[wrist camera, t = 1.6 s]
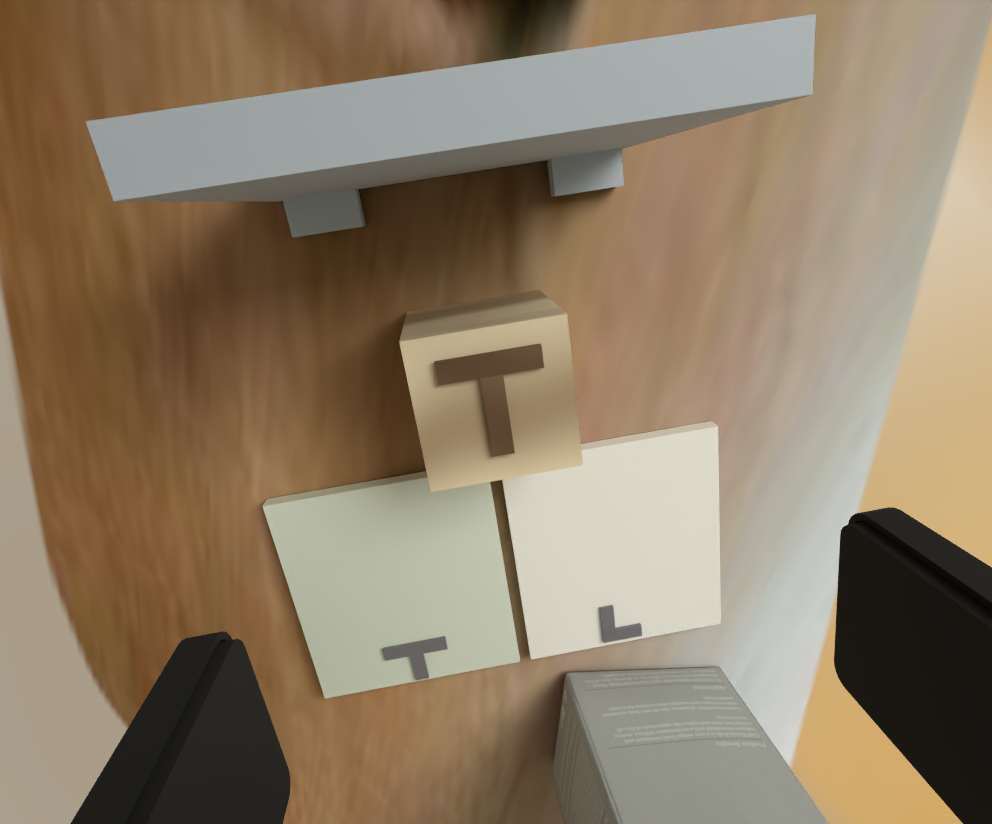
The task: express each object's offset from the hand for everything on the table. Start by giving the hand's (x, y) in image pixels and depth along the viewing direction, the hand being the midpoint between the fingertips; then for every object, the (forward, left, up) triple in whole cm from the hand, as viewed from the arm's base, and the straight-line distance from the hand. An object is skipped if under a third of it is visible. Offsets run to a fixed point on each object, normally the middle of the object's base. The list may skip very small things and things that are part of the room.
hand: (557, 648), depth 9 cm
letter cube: (-1, 0, -15) cm, 15 cm away
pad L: (+8, +5, -15) cm, 18 cm away
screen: (-8, 0, -15) cm, 17 cm away
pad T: (+8, -5, -15) cm, 18 cm away
